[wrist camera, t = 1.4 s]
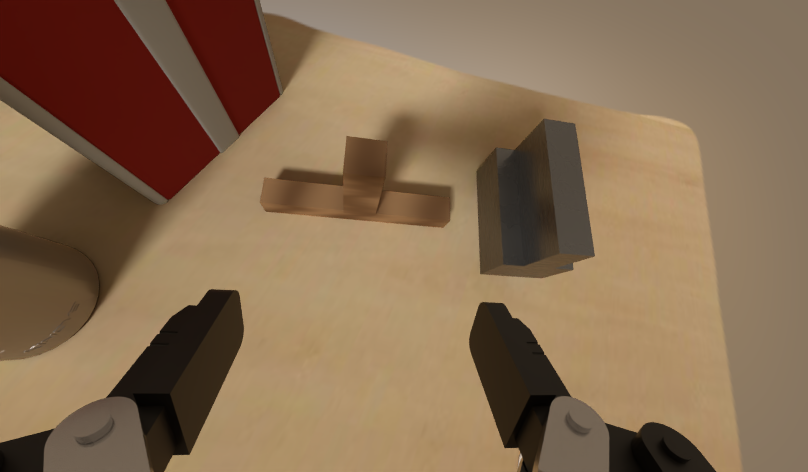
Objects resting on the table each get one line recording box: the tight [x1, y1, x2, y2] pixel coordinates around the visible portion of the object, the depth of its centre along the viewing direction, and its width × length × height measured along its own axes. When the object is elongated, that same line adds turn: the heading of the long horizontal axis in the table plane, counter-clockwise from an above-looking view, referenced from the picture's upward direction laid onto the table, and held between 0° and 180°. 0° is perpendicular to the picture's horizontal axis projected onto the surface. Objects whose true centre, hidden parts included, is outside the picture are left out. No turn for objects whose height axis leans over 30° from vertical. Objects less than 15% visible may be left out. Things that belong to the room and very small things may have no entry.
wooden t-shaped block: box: [260, 136, 450, 228], centre depth 28 cm, size 18×3×10 cm, turn 88°
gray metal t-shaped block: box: [477, 119, 595, 278], centre depth 30 cm, size 12×7×10 cm, turn 178°
